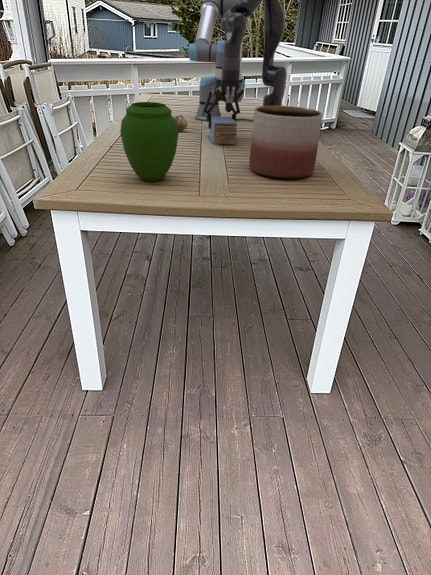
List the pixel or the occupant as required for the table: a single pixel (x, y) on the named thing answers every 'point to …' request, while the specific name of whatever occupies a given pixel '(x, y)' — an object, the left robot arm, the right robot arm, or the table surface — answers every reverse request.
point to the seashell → (181, 122)
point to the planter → (284, 141)
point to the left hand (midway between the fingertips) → (220, 128)
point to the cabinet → (219, 121)
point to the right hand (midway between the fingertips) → (228, 112)
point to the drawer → (226, 134)
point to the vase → (149, 139)
